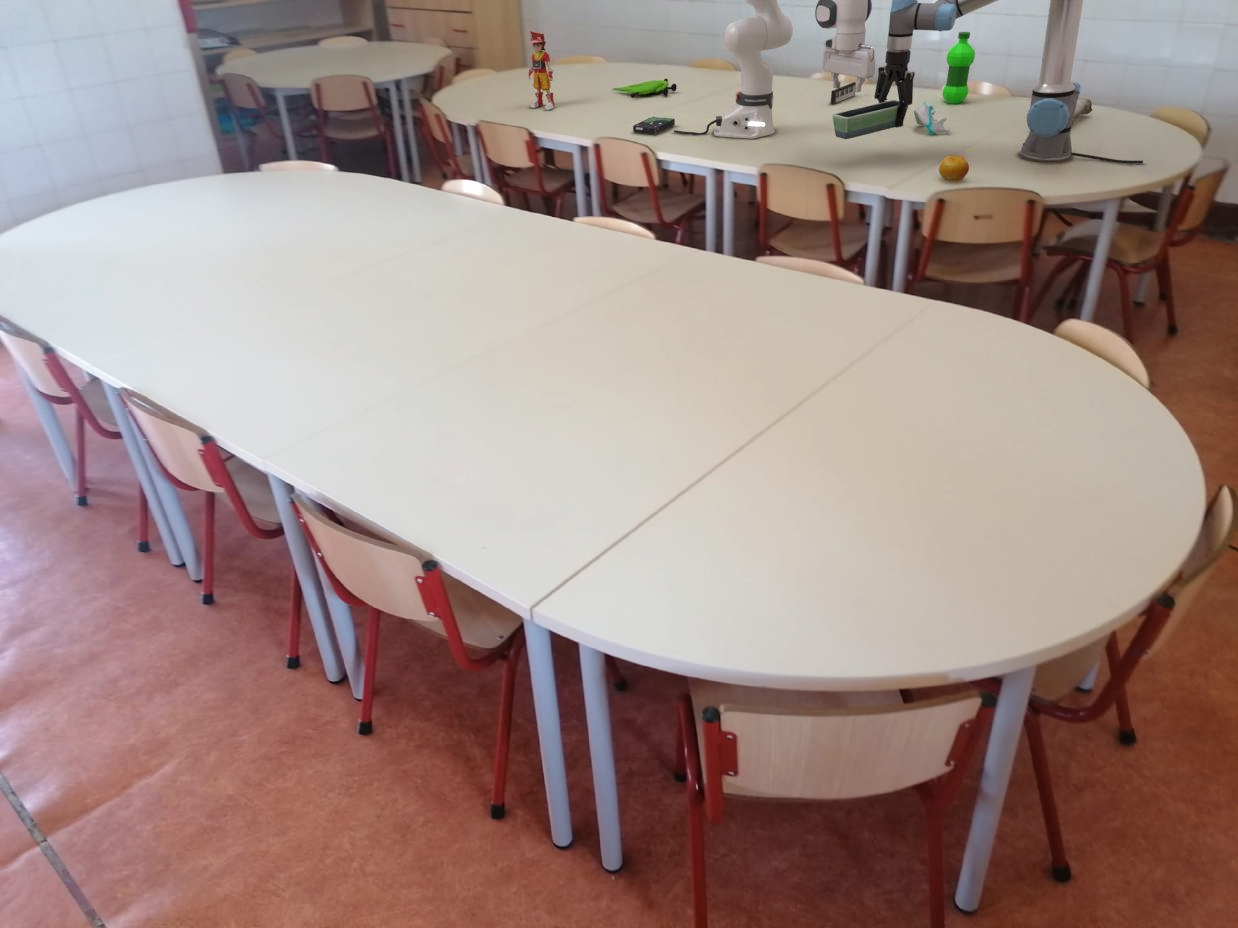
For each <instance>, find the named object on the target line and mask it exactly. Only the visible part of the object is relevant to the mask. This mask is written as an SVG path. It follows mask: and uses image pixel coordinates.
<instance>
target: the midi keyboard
mask: <svg viewBox="0 0 1238 928" xmlns="http://www.w3.org/2000/svg"><path fill="white" fill-rule="evenodd" d="M856 85H857V82H856V81H854V82H850V83H848V84H846V85H842V86H840V88H834V89H833V90H831V94H830V105H835V104H837V103H839V102H841V101H843V100H846V99H848V98H851V97H853V96H856V92H854V86H856Z"/></svg>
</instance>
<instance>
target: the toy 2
mask: <svg viewBox="0 0 1238 928" xmlns="http://www.w3.org/2000/svg"><path fill="white" fill-rule="evenodd" d="M669 85H670V83H669V79H668V78H664V79H663V80H649V81H644V82H640V83H634V84H629V85H627V86H621V87H613V88H612V89H613V90H616V91H619V92H623V93H627V94H628V93H629V94H631V95H630V96H631V98H632V99H634V98H636V96H637V95H650V94H652V93H654V94H658V93H662V95H663V96H665V97H667V96H668V95H669V90H671V91H672V92H676V91H677V84H676V83H672V84H671V86H669Z"/></svg>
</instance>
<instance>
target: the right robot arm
mask: <svg viewBox="0 0 1238 928" xmlns="http://www.w3.org/2000/svg"><path fill="white" fill-rule="evenodd" d="M998 1H999V0H936V1H935V2H927V3H926V2H918V0H892V1H891V7H890V12H889V24H888V34H887V41H886V50H887V51H886V52H885V61H884V63H885V64H886V65H884V66H880V67H878V68H877V71H878V75H877V80H876V87H875V91H874V97H873V98H874V100H877V101H878V103H882V102H887V101H888V96H889V93H890V90H891V88H892V86H893V83H895V86H896V89H897V95H898V101H899V103H900V105H899V106H898V108H897V116H896V125H895V127H894V128H896V129H898V128H901V127H903V126H904V120H905V118H904V116H905V117H906V116H907V115H906V114H907V112H906V107H907V106H908V105H909V106H910V105H912V104H913V101H914V100H913V98H914V97H913V96H914V95H913V94H914V79H915V75H916V73H915V71H910V70H909V67H908V65H909V63H910V61H911V54H912V53H911V48H912V43H913V35H914V31H933V32H934V31H935V32H947V31H951V30H952V29H954V26H955V23H956V19H959V18H962V17H963V16H966V15H968V14H971V13H972V12H975V11H977V10H979V9H982V8H984V7H986V6H988V5H991V4H993V3H995V2H998ZM1083 2H1084V0H1050V1H1049V8H1048V16H1047V24H1046V30H1045V37H1044V44H1043V52H1042V59H1041V66H1040V71H1039V72H1040V74H1039V81H1038V82H1037V83H1036V85H1034V86H1033V88H1032V92H1031V98H1030V105H1029V109H1028V111H1027V114H1026V126H1027V127H1028V129H1029V131H1030V132H1029V133H1028V135H1027V137H1026V139H1025V141H1024V142H1023V143H1022V146H1021V148H1020V153H1019V156H1020V157H1021V158H1023V159H1025V160H1027V161H1031V162H1036V163H1062V162H1066V161H1069V160H1070V159H1071V157H1072V156H1073V157H1078V158H1079V157H1080V158H1086V159H1092V160H1097V161H1104V162H1109V163H1115V164H1144V160H1127V159H1125V160H1124V159H1115V158H1109V157H1103V156H1097V155H1091V154H1085V153H1078V152H1073V149H1072V139H1071V130H1072V126H1073V122H1074V120H1073V117H1074V113H1075V109H1076V104H1077V100H1078V98H1079V95H1080V94H1081V84H1080V83H1079V82H1077V81H1072V74H1073V67H1074V61H1075V54H1076V48H1077V43H1078V37H1079V36H1078V35H1079V29H1080V23H1081V16H1082V9H1083ZM909 106H908V107H909Z"/></svg>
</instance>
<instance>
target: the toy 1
mask: <svg viewBox="0 0 1238 928" xmlns="http://www.w3.org/2000/svg"><path fill="white" fill-rule="evenodd" d="M529 33H530V35H531V36H528V37H527V38H528V39H529V40H528V41H527V43H529V44H530V43H531V44H532V48H533V50H534V51H533V52H532V55H531V58H530V59H531V63H530V66H528V74H527V75H528V76H527V77H528V79H529V80H531V75H532V74H533V84H532V85H533V86H532V87H533V88H534V89H535V90H536V92H534V95H535V97H536V100H535V101H533V102H531V105H530V108H531V109H535V108H538V107H542V106H544V101H543V100H544V99H543V95H544V92H546V94H545V97H546V99H547V103H546V104H545V106H544V110H546V111H549V110H553V109H554V107H555V106H556V105H555V99H554V92H551V91H550V90H551V86H552V84H551V82H552V81H553V80H554V77H553V73H554V71H555V70H554V69H552V68H551V63H550V61H551V59H550V58H551V57H550V54H549V53H548V52H547V50H546V48H545V46H546V44H547V41H545V35H544V33H543V32H542V33H539V32H535V31H529Z"/></svg>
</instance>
